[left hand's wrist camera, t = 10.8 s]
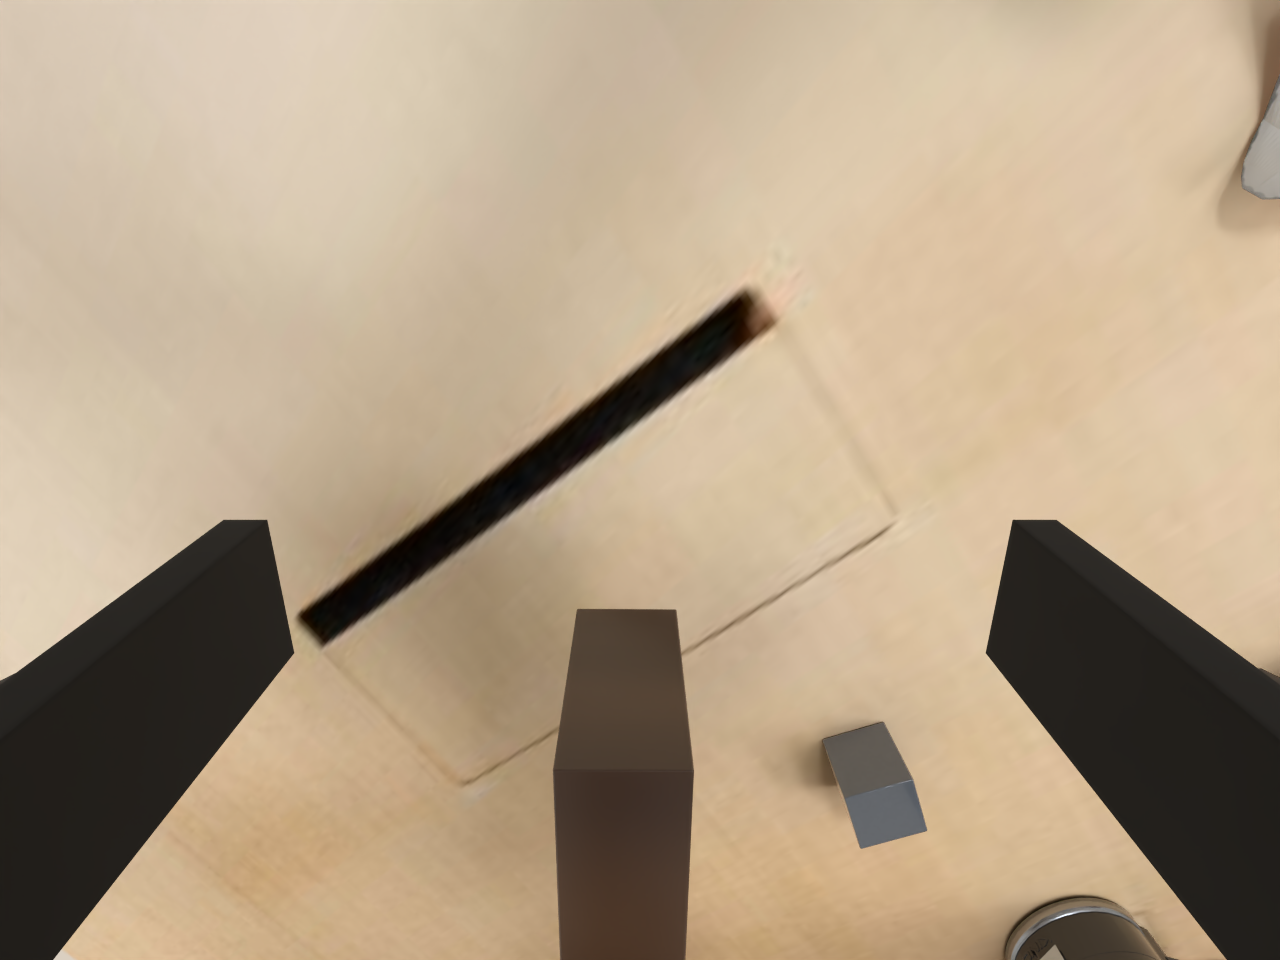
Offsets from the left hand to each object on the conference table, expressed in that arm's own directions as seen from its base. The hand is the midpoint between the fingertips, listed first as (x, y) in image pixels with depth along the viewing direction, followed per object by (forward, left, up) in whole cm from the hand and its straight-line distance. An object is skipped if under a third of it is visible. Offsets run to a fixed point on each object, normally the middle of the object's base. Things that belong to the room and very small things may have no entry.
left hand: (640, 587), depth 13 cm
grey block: (+25, +15, -25) cm, 39 cm away
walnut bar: (+20, 0, -14) cm, 25 cm away
